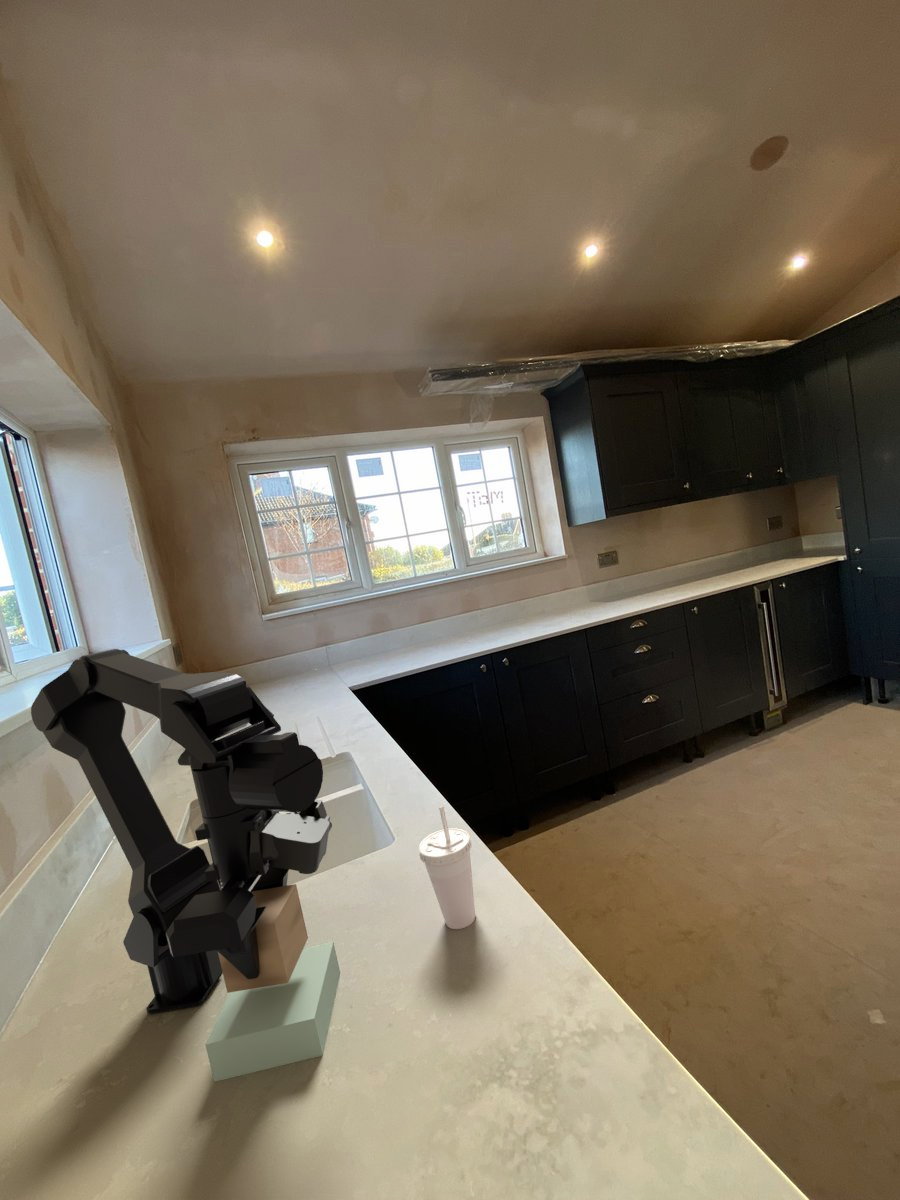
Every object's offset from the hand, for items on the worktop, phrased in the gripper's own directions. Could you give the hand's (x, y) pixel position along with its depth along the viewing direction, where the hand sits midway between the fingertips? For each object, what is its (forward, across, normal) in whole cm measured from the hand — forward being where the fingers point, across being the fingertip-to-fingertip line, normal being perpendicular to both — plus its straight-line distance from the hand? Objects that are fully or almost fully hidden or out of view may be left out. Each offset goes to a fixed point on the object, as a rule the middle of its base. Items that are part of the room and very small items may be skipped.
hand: (267, 952), depth 52 cm
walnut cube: (+1, 0, 0) cm, 1 cm away
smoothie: (+8, +11, -18) cm, 22 cm away
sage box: (+8, 0, 0) cm, 8 cm away
